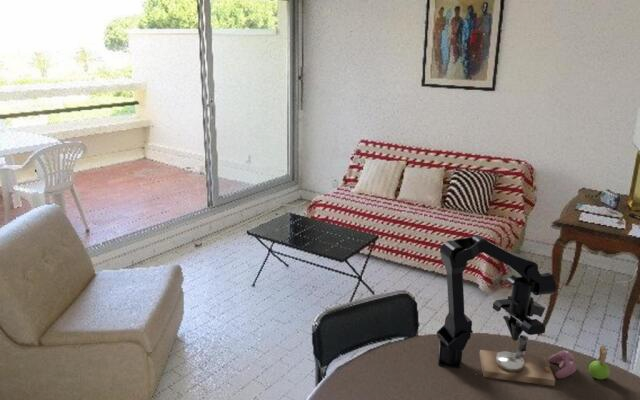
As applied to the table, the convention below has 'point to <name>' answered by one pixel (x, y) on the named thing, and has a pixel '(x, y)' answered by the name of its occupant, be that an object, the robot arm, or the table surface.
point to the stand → (532, 372)
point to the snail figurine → (600, 365)
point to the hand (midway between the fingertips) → (514, 340)
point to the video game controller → (564, 363)
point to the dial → (513, 357)
